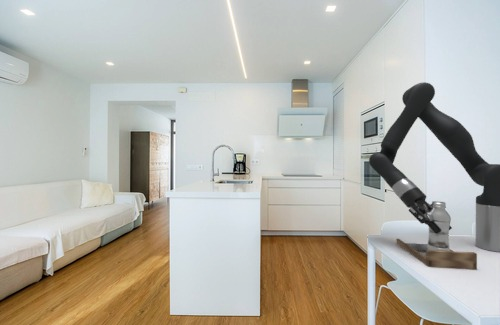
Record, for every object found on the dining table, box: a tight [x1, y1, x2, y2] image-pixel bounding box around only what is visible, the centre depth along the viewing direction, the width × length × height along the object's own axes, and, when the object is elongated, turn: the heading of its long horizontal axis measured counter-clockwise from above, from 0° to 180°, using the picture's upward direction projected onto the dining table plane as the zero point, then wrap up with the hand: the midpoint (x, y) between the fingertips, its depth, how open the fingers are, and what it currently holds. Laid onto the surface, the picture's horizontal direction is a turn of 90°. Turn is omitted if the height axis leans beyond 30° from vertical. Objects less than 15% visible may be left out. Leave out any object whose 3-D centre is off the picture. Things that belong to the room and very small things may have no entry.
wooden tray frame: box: [396, 238, 478, 270], centre depth 87 cm, size 14×22×5 cm, turn 172°
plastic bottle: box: [426, 200, 452, 251], centre depth 83 cm, size 6×7×20 cm
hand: (444, 230), depth 82 cm, fingers closed on plastic bottle, 6 cm apart
